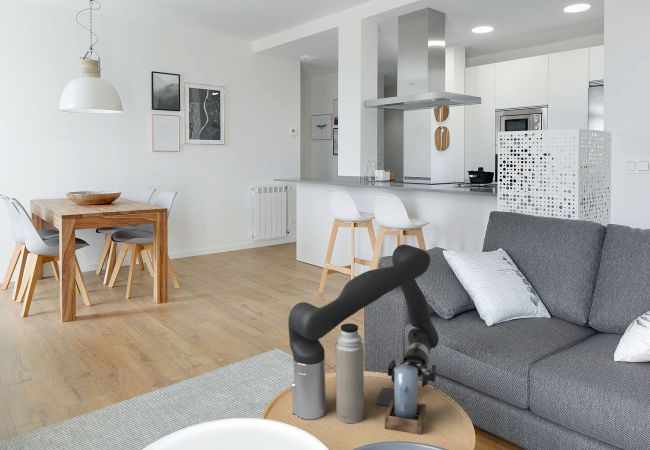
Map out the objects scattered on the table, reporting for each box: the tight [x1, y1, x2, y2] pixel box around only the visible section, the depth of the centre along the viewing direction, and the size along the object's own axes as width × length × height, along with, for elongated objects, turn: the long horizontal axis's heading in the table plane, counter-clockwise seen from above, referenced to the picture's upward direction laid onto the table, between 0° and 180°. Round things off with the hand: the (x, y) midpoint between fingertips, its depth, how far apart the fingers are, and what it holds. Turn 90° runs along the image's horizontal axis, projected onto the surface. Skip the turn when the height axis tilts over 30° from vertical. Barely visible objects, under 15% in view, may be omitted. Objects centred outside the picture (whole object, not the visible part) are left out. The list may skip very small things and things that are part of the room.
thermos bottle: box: [335, 322, 365, 424], centre depth 149 cm, size 8×8×28 cm
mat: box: [375, 386, 395, 408], centre depth 161 cm, size 10×10×1 cm
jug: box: [393, 365, 419, 420], centre depth 146 cm, size 6×9×16 cm
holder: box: [384, 399, 427, 435], centre depth 148 cm, size 10×10×4 cm
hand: (408, 382), depth 152 cm, fingers open, 8 cm apart
